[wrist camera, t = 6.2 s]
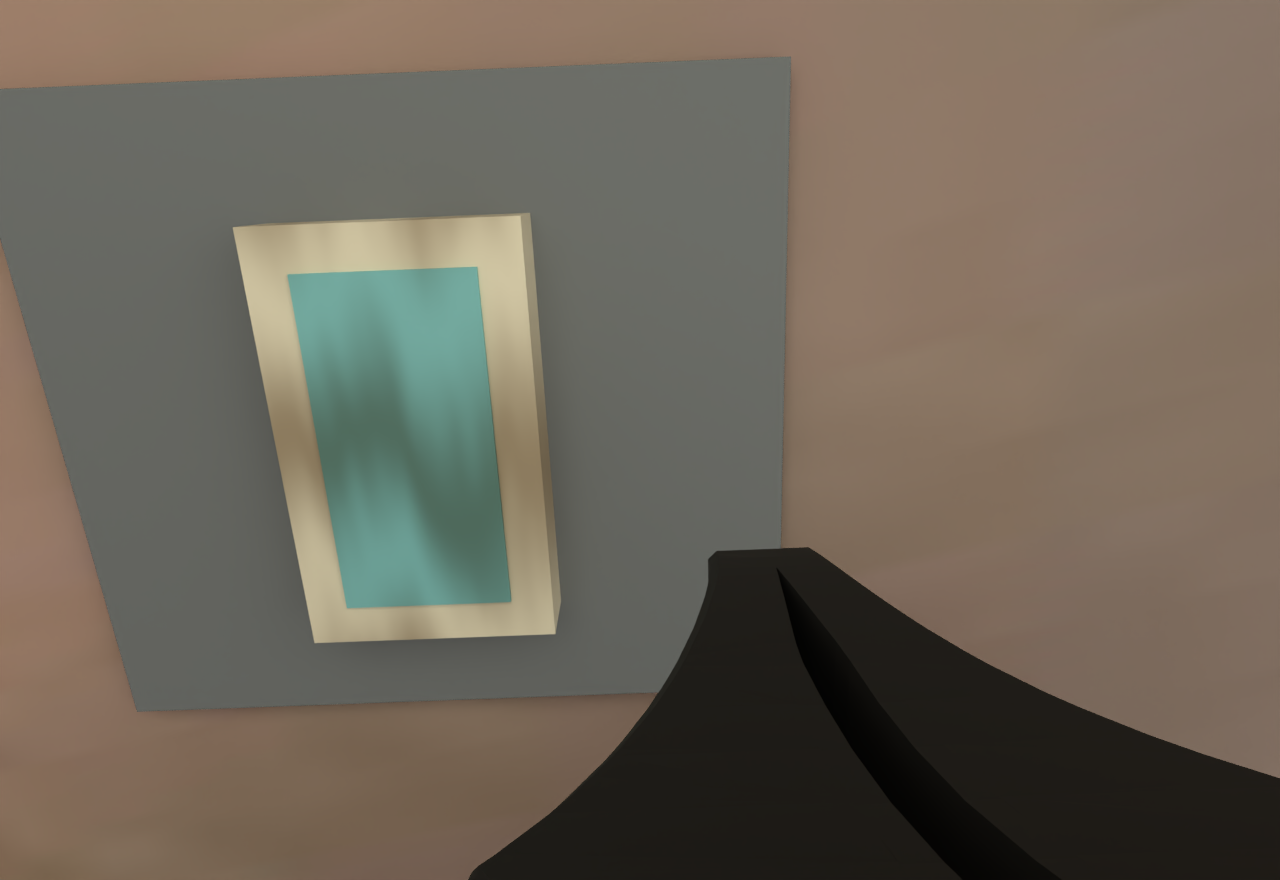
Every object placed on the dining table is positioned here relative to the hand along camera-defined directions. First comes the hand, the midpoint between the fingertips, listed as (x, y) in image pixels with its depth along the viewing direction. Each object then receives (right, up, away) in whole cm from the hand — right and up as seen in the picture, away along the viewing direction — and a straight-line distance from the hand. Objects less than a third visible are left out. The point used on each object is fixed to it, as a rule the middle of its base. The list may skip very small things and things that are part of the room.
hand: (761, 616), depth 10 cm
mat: (-7, +3, +9) cm, 12 cm away
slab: (-4, +2, +8) cm, 9 cm away
